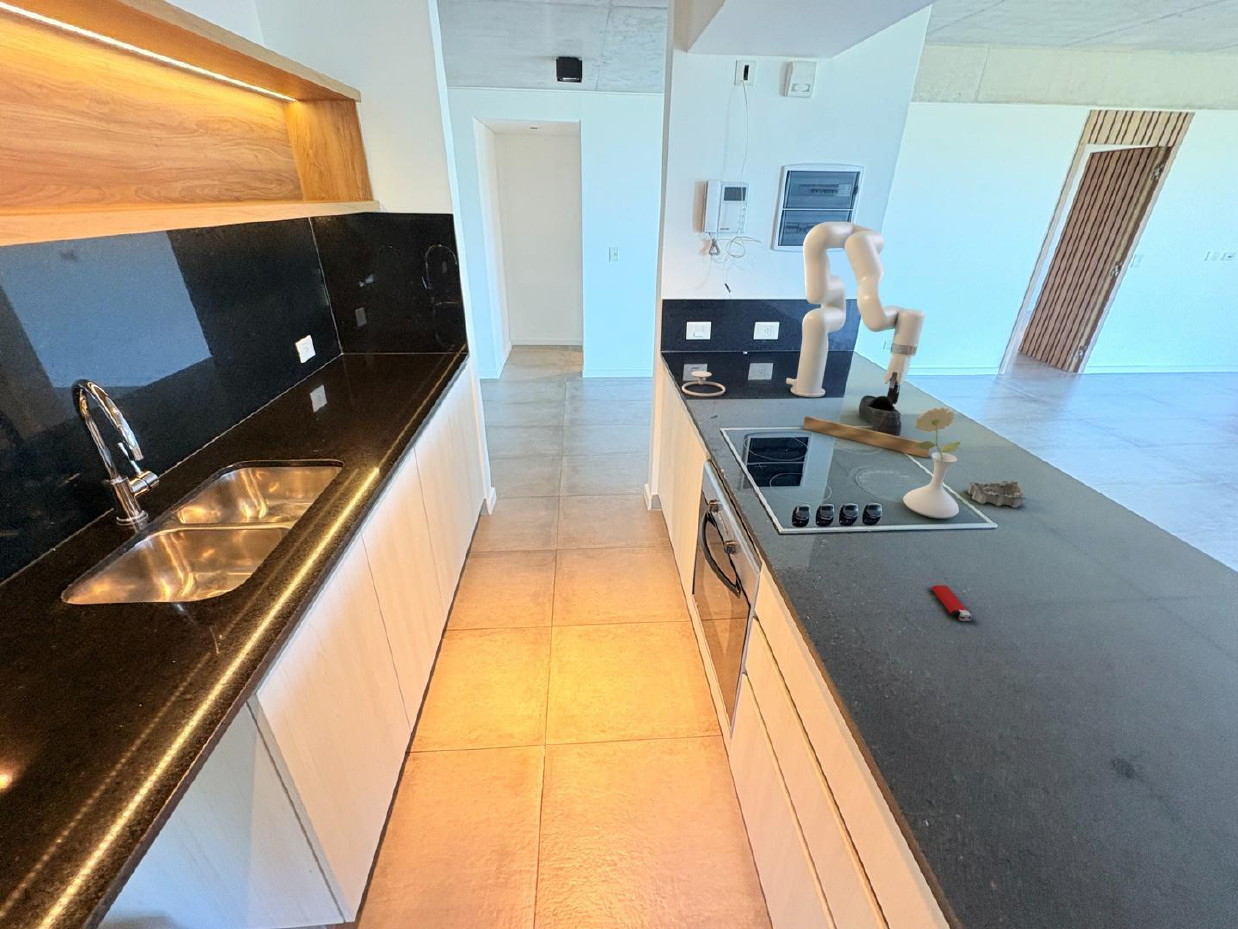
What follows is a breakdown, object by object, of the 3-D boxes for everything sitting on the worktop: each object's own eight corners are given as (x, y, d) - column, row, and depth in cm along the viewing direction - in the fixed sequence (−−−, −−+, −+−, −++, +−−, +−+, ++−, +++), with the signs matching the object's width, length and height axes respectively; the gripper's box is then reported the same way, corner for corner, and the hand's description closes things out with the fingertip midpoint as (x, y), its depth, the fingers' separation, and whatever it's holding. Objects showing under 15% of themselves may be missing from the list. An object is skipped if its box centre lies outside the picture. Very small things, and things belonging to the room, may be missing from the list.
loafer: (879, 410, 185) (885, 382, 181) (912, 442, 159) (920, 410, 155) (848, 409, 186) (854, 381, 182) (876, 441, 160) (883, 409, 156)
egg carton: (1014, 496, 130) (1020, 481, 128) (1024, 510, 123) (1030, 495, 122) (965, 488, 133) (969, 474, 131) (972, 502, 127) (977, 487, 125)
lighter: (949, 585, 96) (973, 615, 89) (947, 591, 97) (971, 621, 90) (933, 585, 97) (956, 615, 89) (931, 590, 97) (954, 620, 90)
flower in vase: (954, 504, 126) (985, 404, 115) (959, 527, 116) (994, 421, 106) (893, 493, 131) (918, 396, 120) (894, 515, 121) (920, 412, 111)
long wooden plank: (803, 428, 170) (804, 416, 168) (804, 427, 171) (806, 415, 169) (926, 457, 150) (930, 444, 148) (927, 456, 151) (931, 443, 149)
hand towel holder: (684, 386, 197) (679, 371, 215) (683, 397, 199) (678, 381, 217) (729, 385, 197) (720, 370, 215) (728, 397, 199) (720, 381, 217)
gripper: (896, 343, 179) (885, 395, 187) (885, 351, 168) (873, 406, 176) (921, 346, 175) (908, 399, 182) (910, 355, 164) (897, 411, 172)
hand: (891, 402), depth 179 cm, fingers closed
